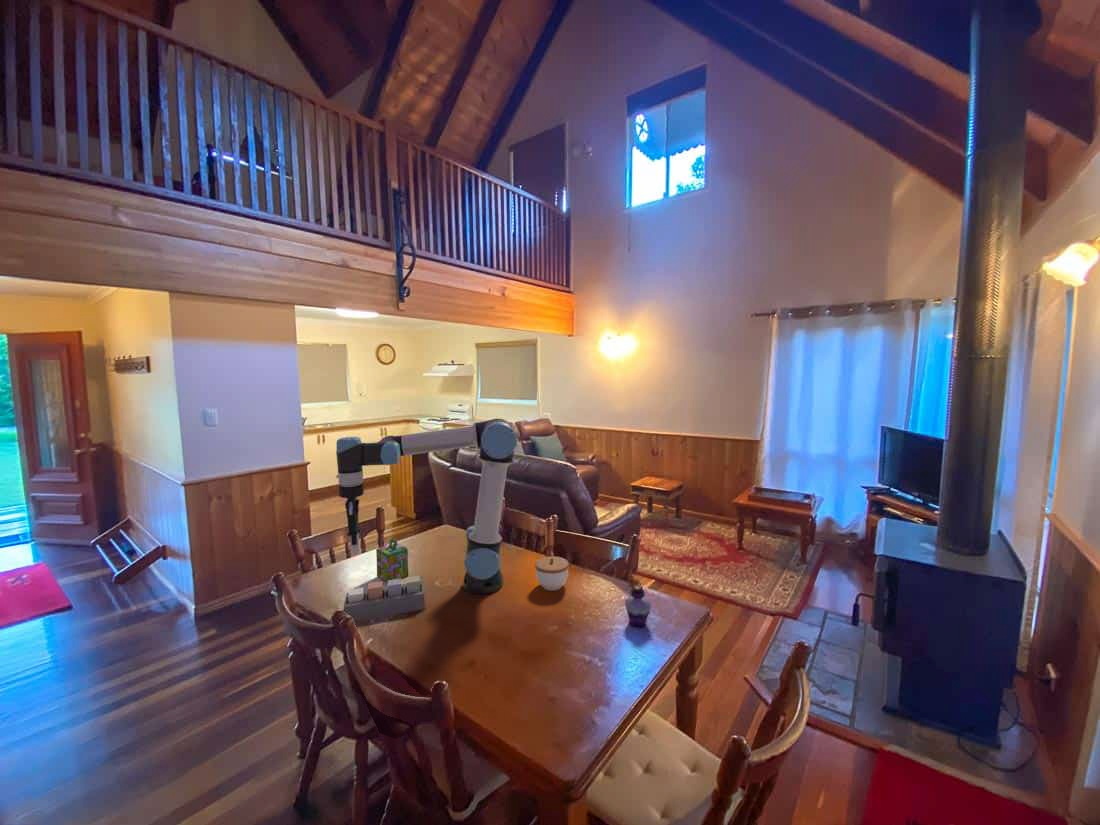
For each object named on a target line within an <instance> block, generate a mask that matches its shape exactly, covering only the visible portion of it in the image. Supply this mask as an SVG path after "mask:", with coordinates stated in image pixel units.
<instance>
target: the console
mask: <svg viewBox="0 0 1100 825" xmlns="http://www.w3.org/2000/svg"><path fill="white" fill-rule="evenodd" d="M401 589H402V595H395V596H389V597H388V587H387V586H383V598H377V599H370V600H369V599H368V589H363V591H364V601H358V602H351V603H348V594H349V592H346V595H345V600H344V603H343V613H344V612H345V613H347V614H348V615H350V616H351V617H352V618H353V619H354V621H353V622H359V621H363V620H364V619H365V620H369V618H370V619H375V618H381V617H387V616H394V615H398V614H399V615H400V614H405V613H409V612H415V611H416V612H417V611H421V610H422V611H423V610H425V609H426V608H425V607H426V604H425V587H424V581H422V580H420V592H414V593H408V594H407V583H401ZM365 620H364V621H365Z"/></svg>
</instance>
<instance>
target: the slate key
mask: <svg viewBox="0 0 1100 825" xmlns="http://www.w3.org/2000/svg"><path fill="white" fill-rule="evenodd" d="M401 585H402V578H401V579H394V580H388V583H387V586H386V587H388V597H389V596H395V595H402V589H401Z"/></svg>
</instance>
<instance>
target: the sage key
mask: <svg viewBox="0 0 1100 825" xmlns="http://www.w3.org/2000/svg"><path fill="white" fill-rule="evenodd" d="M405 578H406V584H407V594H408V593H414V592H420V582H421V580H420V575H416V576H409V577H408V576H407V577H405Z"/></svg>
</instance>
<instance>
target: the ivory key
mask: <svg viewBox="0 0 1100 825" xmlns="http://www.w3.org/2000/svg"><path fill="white" fill-rule="evenodd" d="M363 590H364V587H359V588H352V589H348V593H349V594H348V603H351V602H358V601H364V591H363Z"/></svg>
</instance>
